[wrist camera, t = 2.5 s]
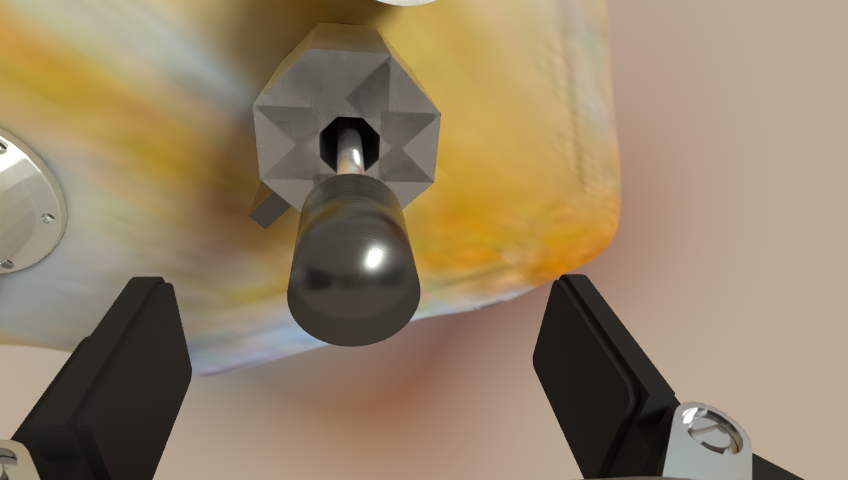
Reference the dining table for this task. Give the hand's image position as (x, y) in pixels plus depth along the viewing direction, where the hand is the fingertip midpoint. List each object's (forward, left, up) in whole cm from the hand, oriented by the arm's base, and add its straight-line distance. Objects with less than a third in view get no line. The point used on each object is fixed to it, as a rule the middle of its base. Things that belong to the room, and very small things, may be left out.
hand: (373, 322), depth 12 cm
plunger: (0, 0, -18) cm, 18 cm away
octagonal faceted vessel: (-2, 0, -26) cm, 26 cm away
